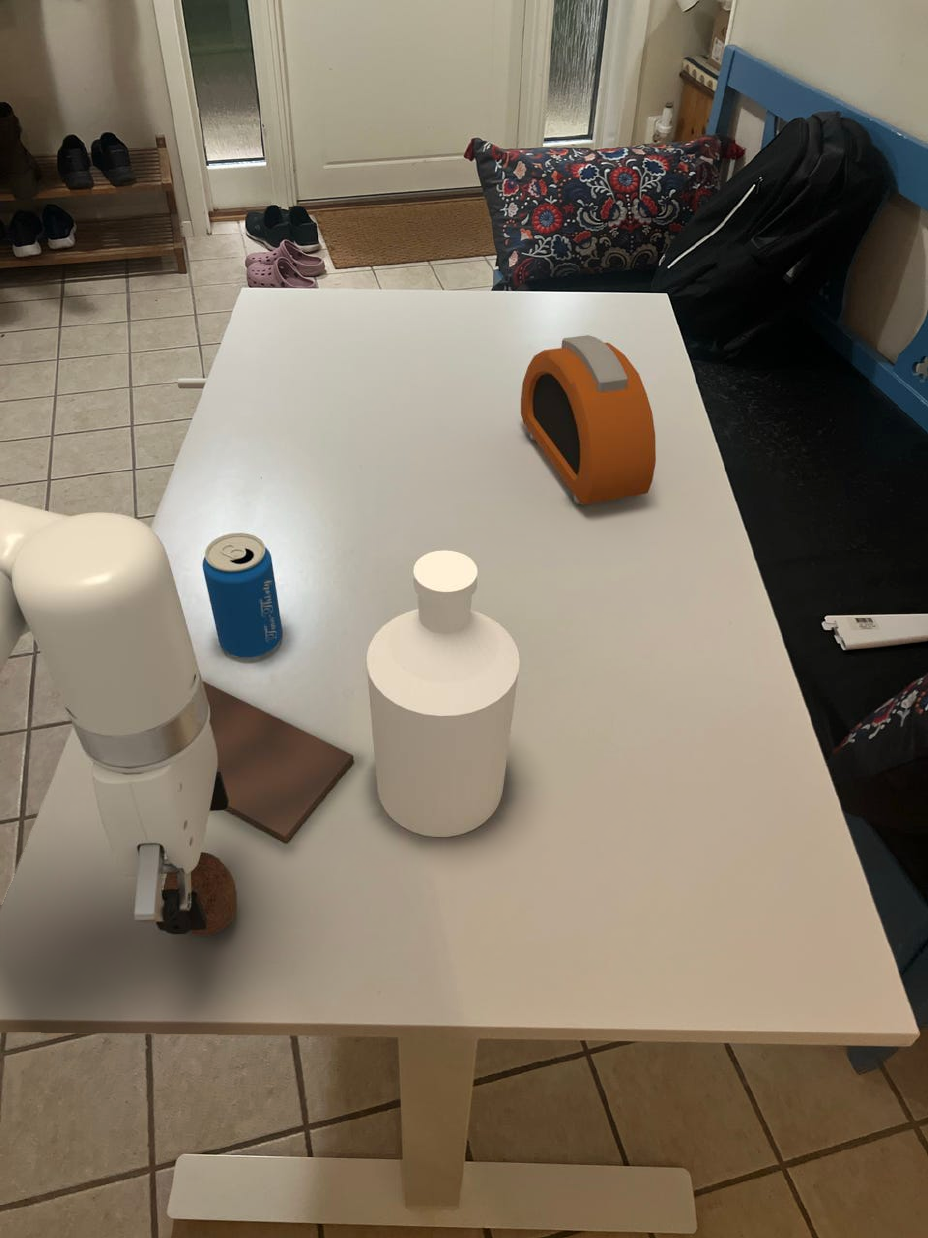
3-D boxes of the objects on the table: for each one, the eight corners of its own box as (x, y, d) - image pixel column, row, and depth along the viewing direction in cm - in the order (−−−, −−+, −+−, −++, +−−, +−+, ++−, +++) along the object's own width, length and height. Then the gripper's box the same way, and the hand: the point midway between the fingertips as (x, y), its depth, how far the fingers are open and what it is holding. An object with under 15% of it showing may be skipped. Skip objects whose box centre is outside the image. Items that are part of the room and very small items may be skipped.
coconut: (255, 922, 70) (240, 867, 64) (197, 964, 67) (177, 910, 62) (220, 877, 72) (203, 821, 67) (163, 915, 70) (141, 860, 64)
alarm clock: (516, 425, 125) (525, 310, 114) (574, 416, 127) (589, 303, 116) (583, 521, 109) (602, 400, 98) (649, 510, 111) (674, 389, 100)
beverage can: (254, 672, 89) (237, 581, 81) (206, 647, 91) (185, 556, 83) (296, 634, 93) (283, 545, 85) (249, 611, 95) (232, 522, 87)
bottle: (427, 712, 86) (428, 501, 69) (530, 771, 81) (560, 560, 64) (346, 794, 79) (326, 581, 62) (455, 864, 74) (466, 654, 57)
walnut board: (128, 756, 81) (125, 749, 80) (202, 686, 87) (201, 679, 87) (286, 843, 75) (285, 837, 74) (354, 761, 81) (353, 755, 81)
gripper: (112, 609, 59) (167, 768, 70) (30, 835, 46) (115, 983, 58) (226, 607, 59) (263, 765, 71) (177, 831, 46) (231, 979, 58)
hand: (196, 863), depth 64 cm, fingers open, 9 cm apart
